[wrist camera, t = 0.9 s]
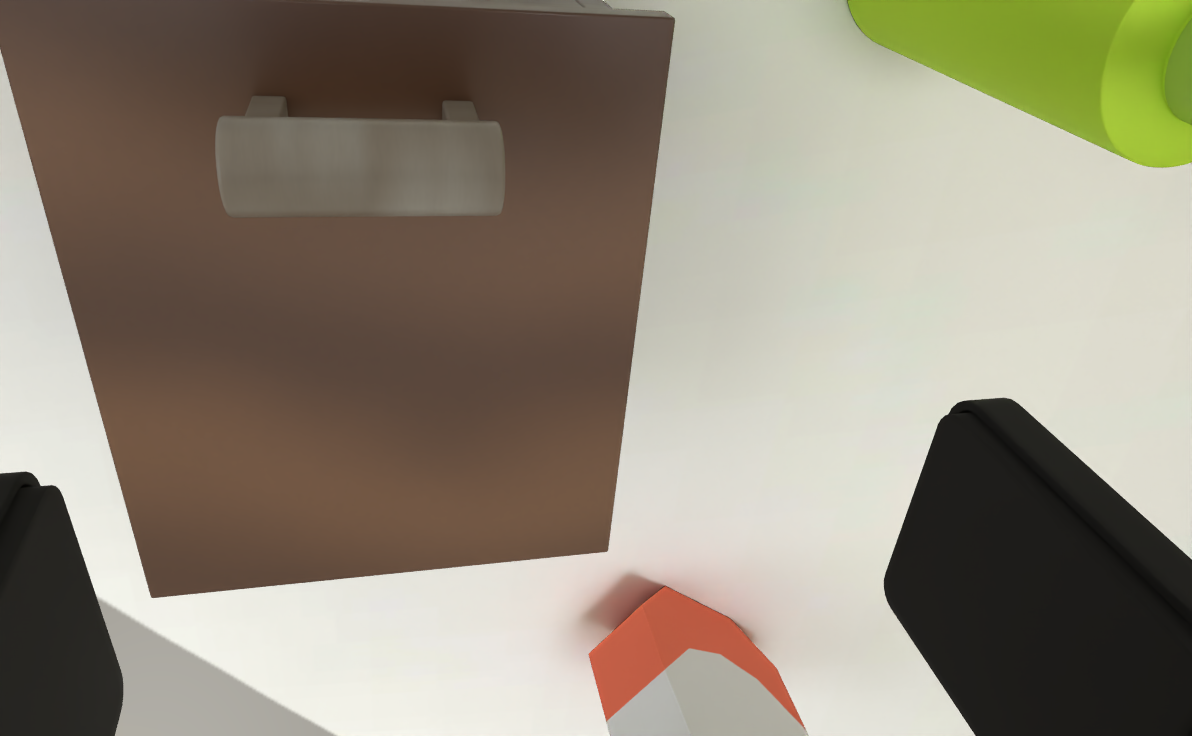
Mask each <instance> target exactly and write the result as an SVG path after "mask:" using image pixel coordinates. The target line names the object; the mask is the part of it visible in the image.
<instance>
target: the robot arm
mask: <svg viewBox="0 0 1192 736" xmlns="http://www.w3.org/2000/svg"><path fill="white" fill-rule="evenodd" d="M884 590H885V596H886V599H887V602H888V604H889V605H890V607H891V609H892V611H893V612H894V614H895V615H896V617H897V618H898V620H899V621H900V623H901V624H902V626H903V627H904V629H905V630H906V632H907V633H908V635H909V636H910V638H911V639H912V641H913V642H914V644H915V645H916V647H917V648H918V650H919V651H920V653H921V654H922V656H923V657H924V659H925V660H926V662H927V663H928V665H929V666H930V668H931V669H932V671H933V672H934V674H935V675H936V677H937V678H938V680H939V681H940V683H941V684H942V686H943V687H944V689H945V690H946V692H947V693H948V695H949V696H950V698H951V699H952V701H953V702H954V704H955V705H956V707H957V708H958V710H959V711H960V713H961V714H962V716H963V717H964V719H965V720H966V722H967V723H968V725H969V726H970V728H971V729H972V731H973V732H974V734H975V735H976V736H1192V560H1191V559H1190V558H1189V557H1188V556H1187V555H1186V554H1185V553H1184V552H1183V551H1181V550H1180V549H1179V548H1178V547H1177V546H1176V545H1175V544H1174V543H1173V542H1171V541H1170V540H1169V539H1168V538H1167V537H1166V536H1165V535H1164V534H1163V533H1161V532H1160V531H1159V530H1158V529H1157V528H1156V527H1155V526H1154V525H1153V524H1151V523H1150V522H1149V521H1148V520H1147V519H1146V518H1145V517H1144V516H1143V515H1141V514H1140V513H1139V512H1138V511H1137V510H1136V509H1135V508H1134V507H1133V506H1131V505H1130V504H1129V503H1128V502H1127V501H1126V500H1125V499H1124V498H1123V497H1121V496H1120V495H1119V494H1118V493H1117V492H1116V491H1115V490H1114V489H1113V488H1111V487H1110V486H1109V485H1108V484H1107V483H1106V482H1105V481H1104V480H1103V479H1101V478H1100V477H1099V476H1098V475H1097V474H1096V473H1095V472H1094V471H1093V470H1091V469H1090V468H1089V467H1088V466H1087V465H1086V464H1085V463H1084V462H1083V461H1081V460H1080V459H1079V458H1078V457H1077V456H1076V455H1075V454H1074V453H1073V452H1071V451H1070V450H1069V449H1068V448H1067V447H1066V446H1065V445H1064V444H1063V443H1061V442H1060V441H1059V440H1058V439H1057V438H1056V437H1055V436H1054V435H1053V434H1051V433H1050V432H1049V431H1048V430H1047V429H1046V428H1045V427H1044V426H1043V425H1041V424H1040V423H1039V422H1038V421H1037V420H1036V419H1035V418H1034V417H1033V416H1031V415H1030V414H1029V413H1028V412H1027V411H1026V410H1025V409H1024V408H1023V407H1021V406H1020V405H1019V404H1018V403H1016V402H1015V401H1013V400H1012V399H1007V398H995V399H981V400H968V401H962V402H959V403H957V404H956V405H955V406H954V407H953V408H952V409H951V411H950V413H949V415H945V416H944V417H943V418H942V419H941V420H940V422H939V424H938V426H937V429H936V432H935V435H934V438H933V440H932V443H931V446H930V449H929V452H928V455H927V457H926V460H925V463H924V466H923V469H922V472H921V474H920V477H919V480H918V483H917V486H916V489H915V491H914V494H913V497H912V500H911V503H910V506H909V508H908V511H907V514H906V517H905V520H904V523H903V525H902V528H901V531H900V534H899V537H898V540H897V542H896V545H895V548H894V551H893V554H892V557H891V559H890V562H889V565H888V568H887V571H886V574H885V578H884ZM122 702H123V678H122V673H121V669H120V666H119V663H118V660H117V657H116V654H115V651H114V648H113V646H112V643H111V639H110V636H109V633H108V630H107V627H106V625H105V621H104V619H103V616H102V612H101V609H100V606H99V604H98V600H97V597H96V594H95V591H94V588H93V585H92V582H91V579H90V576H89V573H88V570H87V567H86V564H85V561H84V558H83V555H82V552H81V549H80V546H79V543H78V540H77V537H76V534H75V531H74V528H73V525H72V522H71V519H70V516H69V514H68V511H67V508H66V505H65V502H64V499H63V496H62V494H61V492H60V490H59V489H58V488H57V487H56V486H52V485H50V486H40V484H39V482H38V480H37V478H36V477H35V476H34V475H33V474H32V473H29V472H15V473H2V474H0V736H115V732H116V728H117V724H118V721H119V717H120V713H121V708H122Z"/></svg>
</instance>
